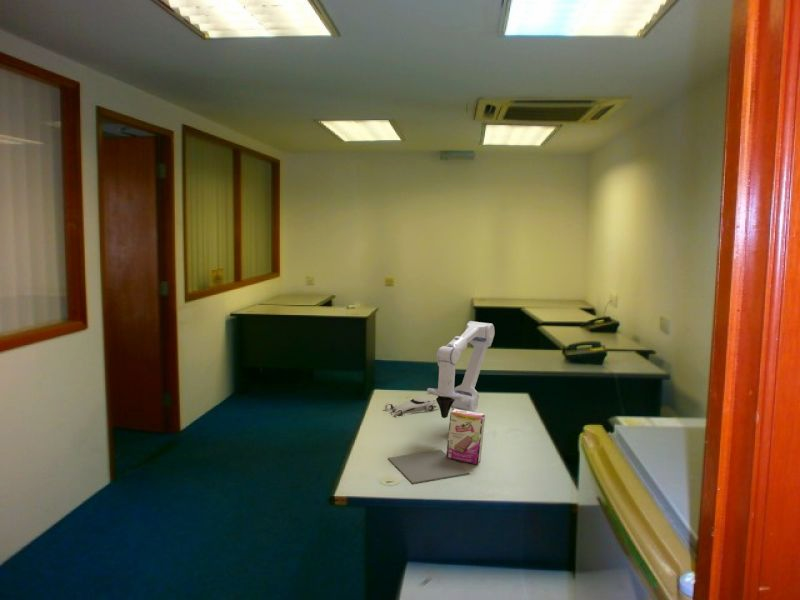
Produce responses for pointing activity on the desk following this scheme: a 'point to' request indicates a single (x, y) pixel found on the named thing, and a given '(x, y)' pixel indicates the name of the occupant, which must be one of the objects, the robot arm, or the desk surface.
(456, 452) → the candy bar box
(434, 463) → the mat
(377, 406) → the desk surface
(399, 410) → the car model
